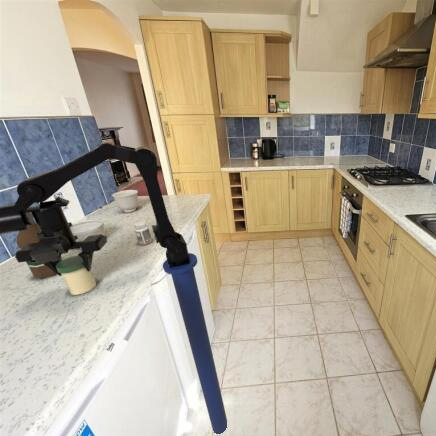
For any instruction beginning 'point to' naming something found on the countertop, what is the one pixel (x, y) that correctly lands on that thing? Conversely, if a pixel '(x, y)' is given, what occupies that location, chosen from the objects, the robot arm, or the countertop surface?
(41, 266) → the beer bottle
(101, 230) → the ramekin
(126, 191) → the teacup
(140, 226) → the pill bottle
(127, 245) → the countertop surface
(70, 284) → the jam jar
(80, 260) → the jar lid
